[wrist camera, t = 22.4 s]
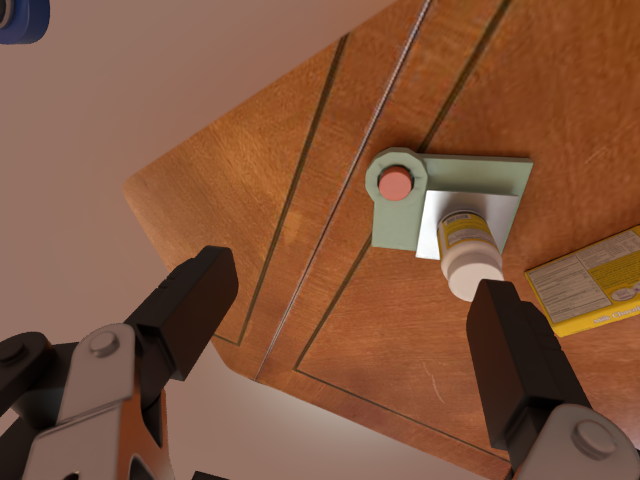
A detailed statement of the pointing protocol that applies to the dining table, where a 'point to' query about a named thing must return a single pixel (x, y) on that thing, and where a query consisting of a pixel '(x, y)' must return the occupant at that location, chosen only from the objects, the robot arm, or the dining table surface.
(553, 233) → the dining table surface
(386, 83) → the dining table surface
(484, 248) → the supplement bottle
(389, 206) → the scale
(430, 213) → the scale pan
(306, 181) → the dining table surface
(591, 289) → the candy box
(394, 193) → the power button
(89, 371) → the robot arm
